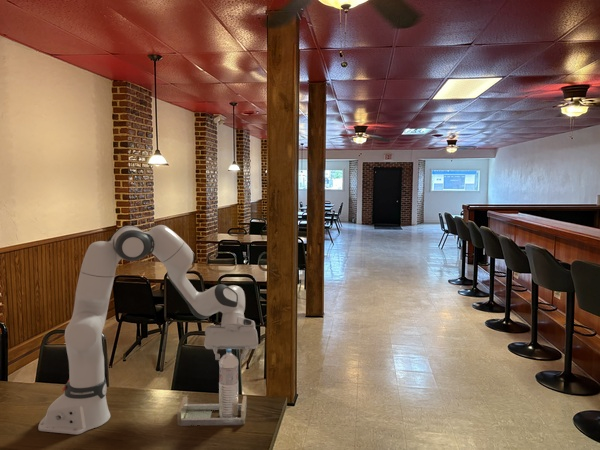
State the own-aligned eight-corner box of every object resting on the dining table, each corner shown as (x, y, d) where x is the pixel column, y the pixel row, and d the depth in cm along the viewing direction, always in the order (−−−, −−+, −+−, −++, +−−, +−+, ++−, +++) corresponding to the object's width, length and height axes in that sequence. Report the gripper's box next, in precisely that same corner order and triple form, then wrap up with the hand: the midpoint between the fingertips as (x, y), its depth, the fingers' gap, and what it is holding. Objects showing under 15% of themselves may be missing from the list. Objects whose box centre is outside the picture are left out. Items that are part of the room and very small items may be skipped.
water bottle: (234, 422, 157) (234, 353, 155) (216, 420, 159) (216, 352, 157) (240, 413, 164) (241, 346, 162) (223, 410, 166) (223, 345, 163)
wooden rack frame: (177, 425, 155) (177, 411, 154) (184, 409, 166) (184, 396, 166) (244, 424, 156) (244, 411, 156) (246, 408, 167) (246, 395, 167)
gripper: (204, 321, 171) (200, 355, 162) (258, 321, 172) (257, 355, 164) (206, 328, 176) (202, 362, 167) (258, 328, 177) (257, 362, 168)
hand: (230, 359), depth 165 cm, fingers open, 8 cm apart
